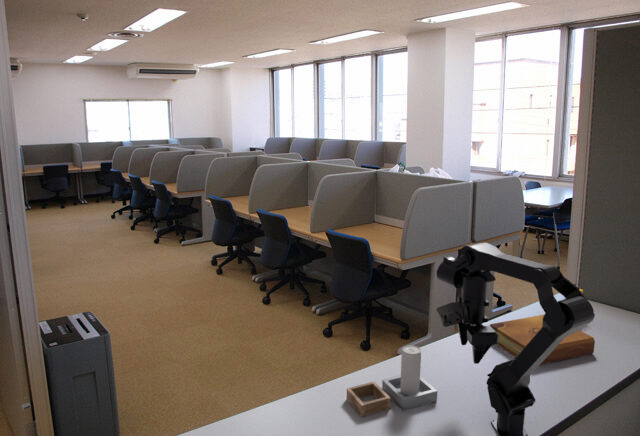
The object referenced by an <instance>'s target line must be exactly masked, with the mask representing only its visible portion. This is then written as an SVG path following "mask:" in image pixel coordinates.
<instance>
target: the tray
mask: <svg viewBox="0 0 640 436" xmlns="http://www.w3.org/2000/svg"><path fill="white" fill-rule="evenodd" d="M381 380H382V381H381V382H382V383H381V385H382V387H381V389H382V390H383V391H384V392H385V393H386V394H387V395H388V396H389V397H390V398H391V401H393V402H394V403H395V405H397V407H399V408H400V409H401V411H403V412H404V411H409V410H411V409H414V408H415V409H416V408H418V407H421V406H425V405H428V404H429V405H430V404H432V403H436V402H437V401H438V390H437V389H436V388H435V387H433V386H432V384H430V383H429V382H428V381H426V380H425V379H424V378H423V377H422V376H421V375H420V385H419V393H417V394H414V395H410V396H405V395H404V394H403V393H402V392H401V390H400V385H401V374H399V375H395V376H392V377H388V378H384V379H381Z"/></svg>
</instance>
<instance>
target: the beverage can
mask: <svg viewBox="0 0 640 436" xmlns="http://www.w3.org/2000/svg"><path fill="white" fill-rule="evenodd" d="M400 363H401V364H400V365H401V366H400V375H401V385H400V390H401V392H402V393H403V394H404V395H405V396H410V395H414V394H417V393H419V385H420V376H421V369H422V366H421V363H422V350H421V348H420V347H419V346H416V345H412V344H411V345H405V346H402V350H401V361H400Z"/></svg>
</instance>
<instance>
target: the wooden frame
mask: <svg viewBox="0 0 640 436" xmlns="http://www.w3.org/2000/svg"><path fill="white" fill-rule="evenodd" d="M371 395H374V397H375V398H376V399H372V400H368V401H365V402H363V401H362V400H361V399H360V398H363V397H367V396H371ZM346 400H347V401H348V402H349V404H350V405H351V406H352V407H353V409H355V411H356V412H357V413H358V414H359V416H360V417H366V416H369V415H372V414H377V413H380V412H383V411H387V410H390V409H391V401H392V399H391V398H390V397H389V396H388V395H387V394H386V393H385V392H384V391H383V390H382V387H380V385H379V384H378V383H376V381H372V382H371V381H370V382H367V383H363V384H360V385H359V384H358V385H355V386H352V387H348V388H346Z"/></svg>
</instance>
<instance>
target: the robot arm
mask: <svg viewBox="0 0 640 436" xmlns="http://www.w3.org/2000/svg"><path fill="white" fill-rule="evenodd" d="M492 272H495V273H497V274H501V275H504V276H508V277H511V278H514V279H516V280H520V281H522V282H523V281H524V282H527V283H530V284H532V285H533V286H534V288H535V289H536V292H537V296H538V302H539V305H540V307H541V309H542V310H543V311H544V314H543V315H544V316H543V326H542V328H541V329H540V330H539V331H538V333H537V334H536V335H535V336H534V337H533V338H532V339H531V341H530V342H529V343H528V344H527V345H526V346H525V348H524V349H523V350H522V351H521V352H520V353H519V354H518V356H517V357H515V358H512V359H510V360H507V361H504V362H501V363H498V364H496V365H495V366H494V367H493V369H492V371H491V372H490V373H487V374H486V376H487V377H488V378H487V380H486V385H487V386H486V387H487V392H488V397H489V402H490V407H491V408H492V409H494V410H495V413H496V414H497V415H496V416H497V418H496V419H490V423H491V425H492V427H493V428H494V430H495V432H496V433H497V434H498V436H530V435H529V433H528V432H527V430H526V428H525V426H524V425H525V415H526V409H527V408H529V407H533V406H534V404H535V402H536V398H535V396H534V394H533V392H532V391H531V388H530V387H529V386H530V382H531V375H532V374H533V373H534V372H535V371H536V370H537V369H538V367H539V366H541V365H540V364H541V363H542V362H543V361H544V360H545V359H546V358H547V356H548V355H549V354H550V353H551V352H552V351H553V350H554V349H555V348H556V347H557V346H558V345H559V344H560V343H561V341H562V340H563V339H564V338H566V337H567V336H569V335H571V334H573V333H574V332H576V331H578V330H580V331H581V330H582V329H583V328H584V327H586V326H588V325H590V323H592V322H593V320H594V319H595V317H596V316H595V315H596V314H595V311H594V307H593V305H592V304H591V302H590V301H589V300H588V299H587V298H586V297H585V295H584V293H583V294H582V292H581V291H580V290H579V289H580V288H579V287H578V286H577V285H576V286H575V285H574V284H575V283H572V281H570V280H569V279H567V278H566V277H565V276H564V274H563V272H562V271H561V270H560V269H559V267H557V266H555V265H552V264H545V263H540V262H537V261H534V260H533V261H532V260H530V259H526V258H522V257H518V256H514V255H511V254H507V253H504V252H503V251H501V250H499V248H498V247H496V246H494V245H493V244H491V243H489V242H487V241H486V242H478V243H472V244H467V245H464V246H463V247H462V248H461V250H460V251H459V254H458V255H457V257H456V258H454V257H453V256H451V255H450V256H445V257H443V261H442V262H441V263H440V264H439V265H438V267H437V269H436V279H438V280H439V281H440V282H442V283H444V284H446V285H449V286H450V287H451V286H452V287H453V288H456V289H461V294H459V295H458V296H457V298H456V299H457V300H456V301H451V302H450V303H447V304H444V305H441V306H438V307H437V308H436V313H437V317H438V320H439V322H440V323H441V325H442V326H443V327H444V328H447V327H450V326H453V325H457V329H458V335H459V340H460V344H461V346H466V345H467V344H468V342H469V344H470V345H471V347H472V348H471V349H472V360H473V364H475V365H477V364H480V363H481V361H482V359H483V358H484V357H485V355H486V354H487V352H488V351H489V350H490V348H491V347H492V346H494V345H497V344H498V341H499V335H498V334H497V333H496V332H495V330H494V329H493V328H492V327H491V326H490V325H484V324H483V323H488V322H489V321H488V320H489V318H488V317H487V316H486V309H487V307H490V301H489V300H488V299H487V294H488V293H487V292H488V283H492V282H496V280H497V279H496V277H495V276H494V275H493V273H492ZM553 289H554V290H555V291H557V293H559V294H560V295H561V296H563V297H564V299H561V300H557V299H556V297H555V296H554V291H553Z"/></svg>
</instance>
